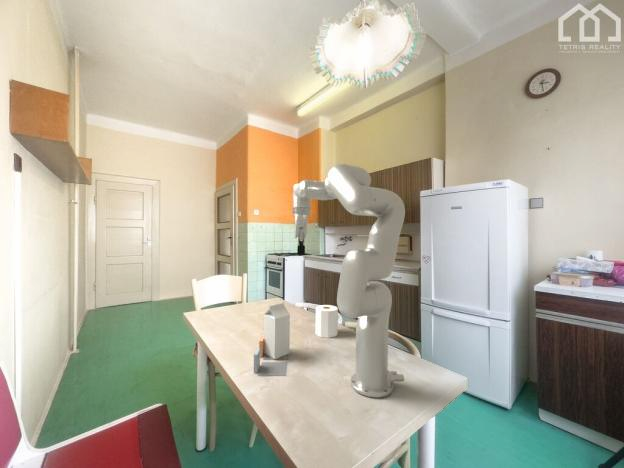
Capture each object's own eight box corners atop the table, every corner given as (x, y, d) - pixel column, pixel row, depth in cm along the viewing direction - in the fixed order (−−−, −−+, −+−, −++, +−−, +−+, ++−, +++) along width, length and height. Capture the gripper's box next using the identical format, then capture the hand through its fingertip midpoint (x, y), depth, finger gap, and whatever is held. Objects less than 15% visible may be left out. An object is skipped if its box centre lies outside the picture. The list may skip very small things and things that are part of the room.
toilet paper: (311, 334, 121) (311, 308, 121) (323, 328, 129) (323, 303, 129) (329, 339, 114) (329, 312, 114) (341, 332, 123) (341, 307, 123)
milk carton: (289, 353, 101) (290, 304, 101) (274, 359, 96) (275, 307, 96) (278, 348, 106) (278, 300, 106) (263, 353, 101) (263, 304, 101)
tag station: (289, 349, 105) (289, 333, 105) (285, 376, 85) (285, 357, 85) (262, 349, 105) (262, 334, 105) (252, 376, 85) (252, 357, 85)
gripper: (293, 213, 121) (293, 253, 121) (292, 210, 106) (291, 256, 106) (309, 213, 121) (309, 253, 121) (310, 211, 106) (310, 256, 106)
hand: (301, 254), depth 113 cm, fingers closed
